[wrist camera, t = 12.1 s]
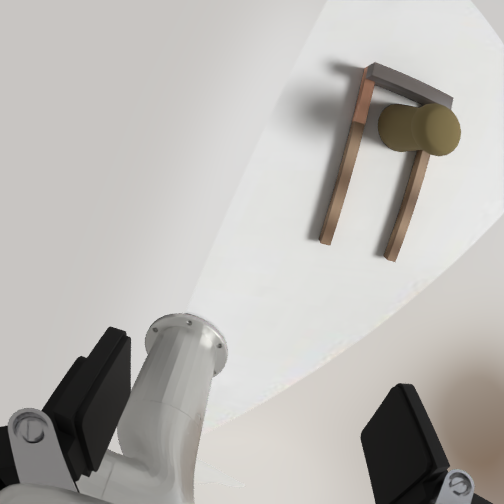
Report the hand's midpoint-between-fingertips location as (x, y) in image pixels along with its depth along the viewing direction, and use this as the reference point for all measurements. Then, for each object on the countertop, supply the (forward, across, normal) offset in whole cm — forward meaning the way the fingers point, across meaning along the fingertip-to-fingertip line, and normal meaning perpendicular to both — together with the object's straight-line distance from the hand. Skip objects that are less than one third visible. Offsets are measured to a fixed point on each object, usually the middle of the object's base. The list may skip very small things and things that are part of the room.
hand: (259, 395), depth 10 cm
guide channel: (+30, -13, -8) cm, 34 cm away
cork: (+30, -14, -14) cm, 36 cm away
